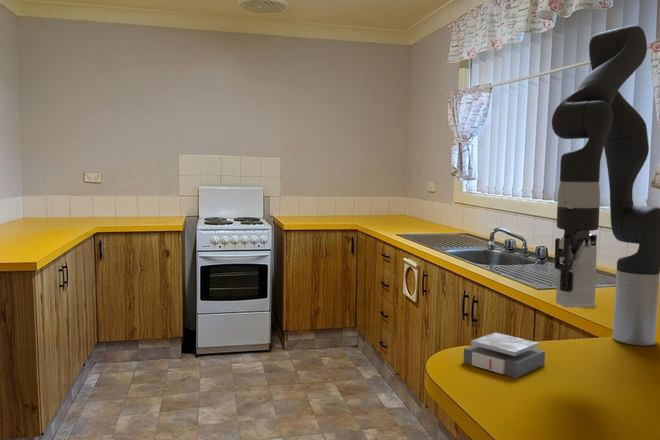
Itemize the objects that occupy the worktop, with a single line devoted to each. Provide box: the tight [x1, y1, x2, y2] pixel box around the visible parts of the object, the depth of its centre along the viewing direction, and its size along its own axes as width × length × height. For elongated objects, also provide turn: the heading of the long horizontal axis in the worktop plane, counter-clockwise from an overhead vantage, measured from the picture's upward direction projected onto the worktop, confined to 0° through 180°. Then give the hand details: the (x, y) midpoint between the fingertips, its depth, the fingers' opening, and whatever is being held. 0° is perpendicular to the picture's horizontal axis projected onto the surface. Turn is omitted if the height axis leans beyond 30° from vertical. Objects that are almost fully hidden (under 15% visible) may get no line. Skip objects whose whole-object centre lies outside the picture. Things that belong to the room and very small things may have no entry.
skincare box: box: [555, 245, 598, 308], centre depth 107 cm, size 6×4×12 cm
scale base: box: [463, 345, 546, 379], centre depth 114 cm, size 13×12×3 cm
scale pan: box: [470, 331, 539, 356], centre depth 114 cm, size 10×10×1 cm
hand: (574, 288), depth 107 cm, fingers closed on skincare box, 7 cm apart
